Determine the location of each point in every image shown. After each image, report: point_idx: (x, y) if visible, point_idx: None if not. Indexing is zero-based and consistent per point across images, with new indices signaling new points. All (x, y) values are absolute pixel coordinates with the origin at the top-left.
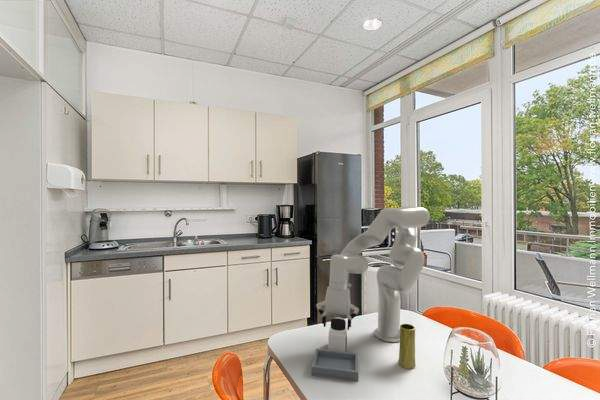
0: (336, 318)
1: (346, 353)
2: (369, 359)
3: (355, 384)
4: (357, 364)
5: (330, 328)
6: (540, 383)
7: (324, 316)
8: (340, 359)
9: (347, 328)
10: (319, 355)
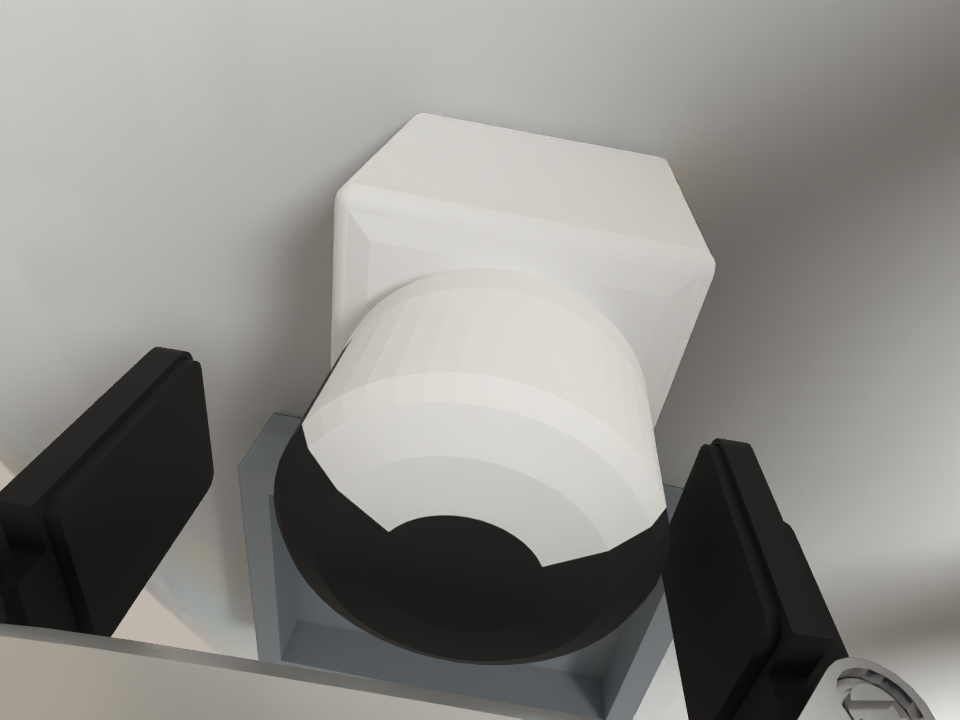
0: (408, 535)
1: None
2: (850, 462)
3: None
4: (644, 679)
5: (342, 285)
6: None
7: (46, 625)
8: None
9: (663, 573)
10: None
